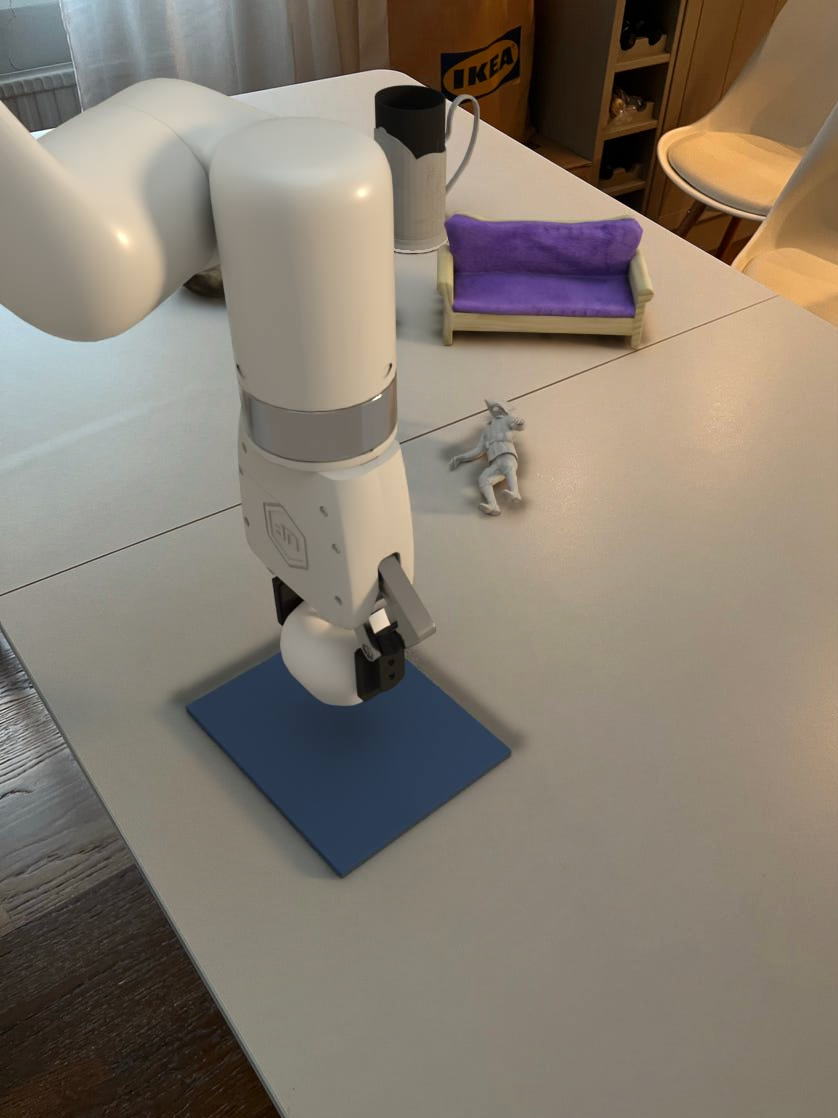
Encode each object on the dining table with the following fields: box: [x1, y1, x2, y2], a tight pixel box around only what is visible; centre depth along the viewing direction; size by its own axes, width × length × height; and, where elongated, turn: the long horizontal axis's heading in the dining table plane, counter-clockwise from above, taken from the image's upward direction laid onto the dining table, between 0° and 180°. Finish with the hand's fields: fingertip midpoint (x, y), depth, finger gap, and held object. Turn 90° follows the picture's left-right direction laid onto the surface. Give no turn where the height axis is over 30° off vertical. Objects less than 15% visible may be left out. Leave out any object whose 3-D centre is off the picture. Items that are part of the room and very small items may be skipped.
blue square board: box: [185, 651, 512, 879], centre depth 69 cm, size 14×17×1 cm
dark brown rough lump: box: [181, 265, 225, 299], centre depth 107 cm, size 8×7×10 cm
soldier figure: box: [448, 397, 527, 516], centre depth 88 cm, size 8×5×12 cm
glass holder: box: [373, 84, 481, 251], centre depth 115 cm, size 9×14×15 cm, turn 132°
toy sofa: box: [436, 210, 655, 350], centre depth 103 cm, size 21×9×10 cm, turn 91°
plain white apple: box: [279, 601, 390, 706], centre depth 63 cm, size 7×7×8 cm
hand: (340, 649), depth 63 cm, fingers closed on plain white apple, 7 cm apart
